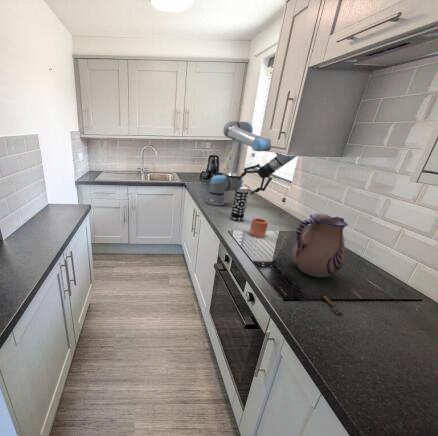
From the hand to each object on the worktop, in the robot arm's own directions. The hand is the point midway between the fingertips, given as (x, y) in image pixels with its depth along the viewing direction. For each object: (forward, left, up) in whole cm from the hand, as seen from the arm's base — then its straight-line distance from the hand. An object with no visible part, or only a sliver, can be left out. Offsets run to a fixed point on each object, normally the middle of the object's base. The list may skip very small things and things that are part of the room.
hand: (244, 186), depth 162 cm
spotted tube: (+11, 0, -21) cm, 24 cm away
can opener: (+82, +47, -21) cm, 97 cm away
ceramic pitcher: (+61, +41, -21) cm, 77 cm away
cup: (+31, +16, -21) cm, 41 cm away
